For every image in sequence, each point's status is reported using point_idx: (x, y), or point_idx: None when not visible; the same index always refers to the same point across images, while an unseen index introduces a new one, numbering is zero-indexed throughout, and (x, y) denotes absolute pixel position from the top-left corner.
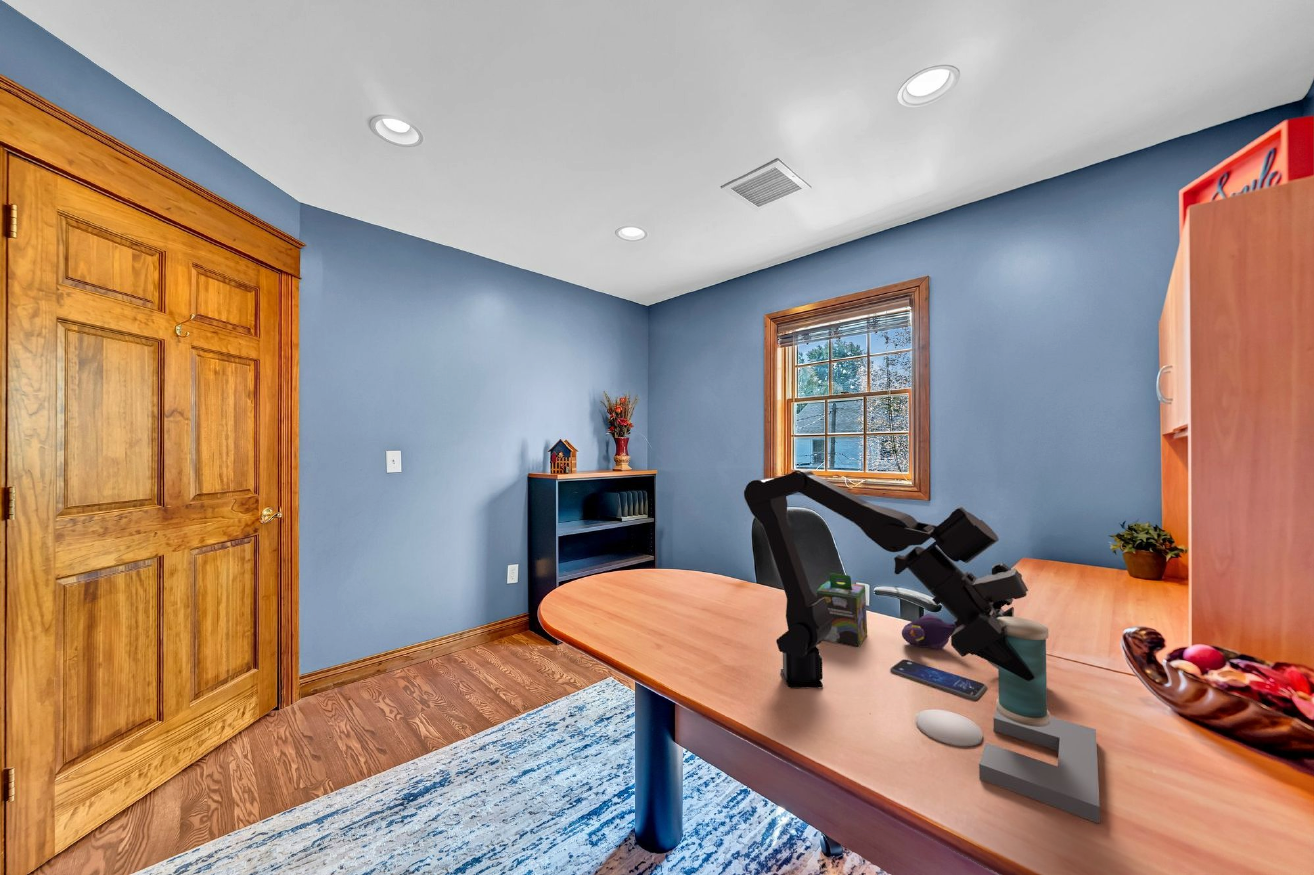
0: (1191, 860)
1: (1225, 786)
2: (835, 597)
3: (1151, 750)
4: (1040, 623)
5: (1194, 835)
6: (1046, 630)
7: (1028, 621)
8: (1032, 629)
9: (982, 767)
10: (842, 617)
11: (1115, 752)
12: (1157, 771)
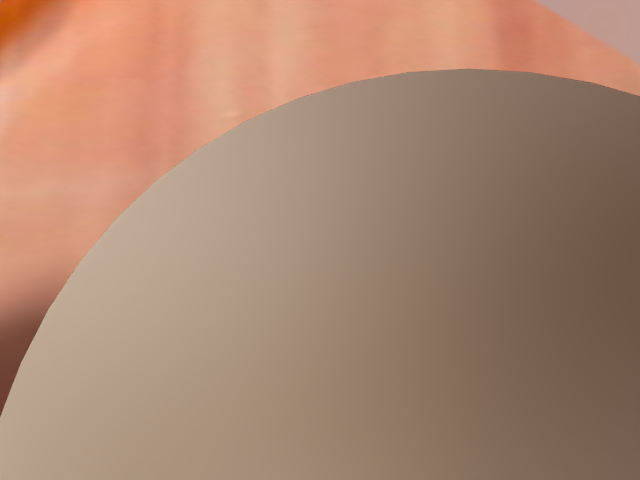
0: (554, 23)
1: (194, 14)
2: None
3: (131, 130)
4: (100, 256)
5: (451, 30)
6: (444, 90)
7: (123, 457)
8: (622, 288)
9: None
10: None
11: None
12: (228, 108)
